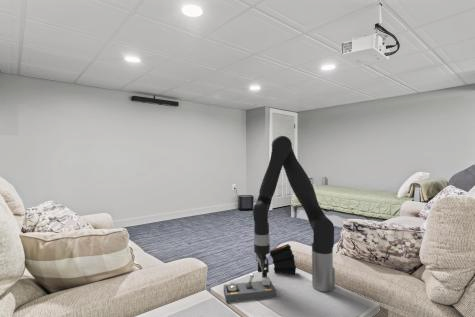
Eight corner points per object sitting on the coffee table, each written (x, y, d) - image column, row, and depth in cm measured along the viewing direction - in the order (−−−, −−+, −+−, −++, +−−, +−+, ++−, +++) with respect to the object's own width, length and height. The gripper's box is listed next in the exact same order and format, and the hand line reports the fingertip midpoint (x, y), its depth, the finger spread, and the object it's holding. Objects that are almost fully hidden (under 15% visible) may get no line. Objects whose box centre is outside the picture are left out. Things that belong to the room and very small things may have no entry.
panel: (269, 286, 125) (269, 278, 124) (275, 296, 116) (275, 288, 116) (223, 291, 121) (223, 283, 121) (226, 302, 112) (226, 293, 112)
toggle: (250, 283, 119) (253, 274, 119) (251, 285, 117) (254, 275, 118) (247, 282, 119) (250, 273, 119) (248, 284, 117) (251, 274, 117)
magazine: (301, 273, 134) (288, 245, 136) (278, 281, 138) (265, 254, 139) (301, 270, 138) (289, 243, 139) (279, 277, 141) (267, 251, 143)
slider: (268, 282, 121) (268, 276, 121) (270, 284, 119) (270, 278, 119) (262, 283, 121) (262, 277, 121) (263, 285, 119) (263, 279, 119)
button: (236, 288, 119) (236, 282, 119) (238, 293, 115) (238, 287, 115) (227, 289, 119) (227, 283, 119) (228, 294, 114) (228, 288, 114)
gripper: (273, 247, 120) (274, 282, 120) (265, 237, 134) (265, 268, 134) (257, 248, 119) (258, 283, 119) (251, 238, 133) (251, 270, 133)
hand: (262, 275), depth 127 cm, fingers open, 8 cm apart
